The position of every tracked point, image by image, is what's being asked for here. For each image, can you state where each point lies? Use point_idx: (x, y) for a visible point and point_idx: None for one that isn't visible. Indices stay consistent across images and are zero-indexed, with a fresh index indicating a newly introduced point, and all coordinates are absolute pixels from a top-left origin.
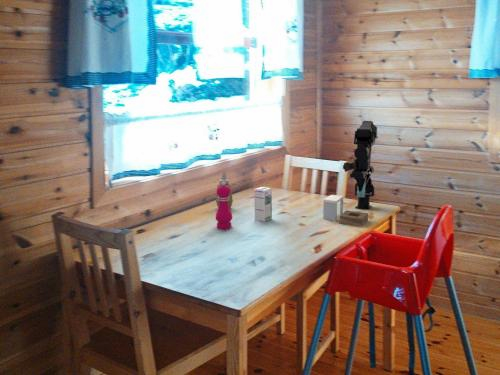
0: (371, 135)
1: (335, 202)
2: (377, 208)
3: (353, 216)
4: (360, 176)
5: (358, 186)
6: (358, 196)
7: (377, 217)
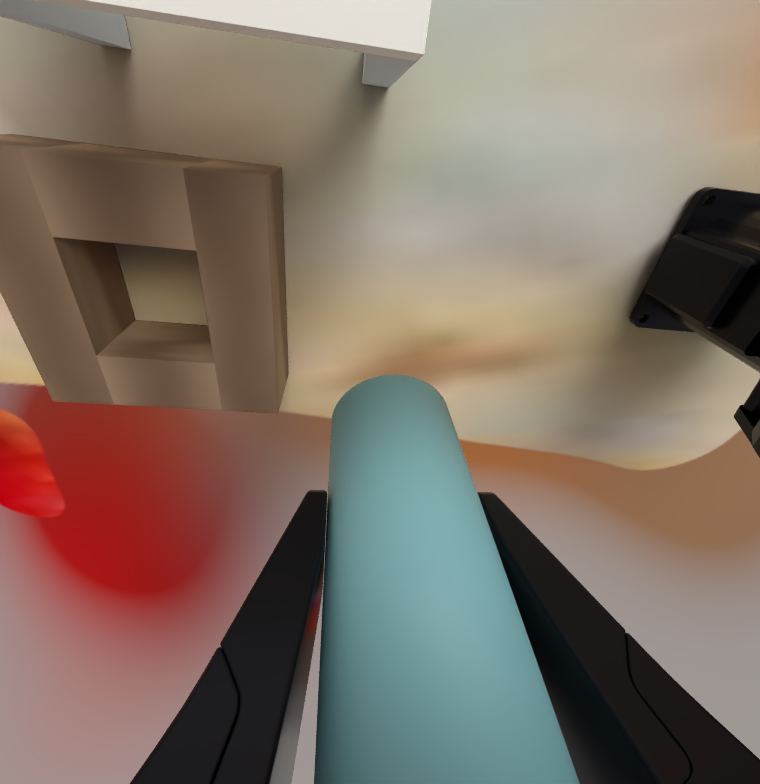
0: None
1: None
2: (670, 377)
3: (65, 315)
4: None
5: (253, 595)
6: (338, 407)
7: None
